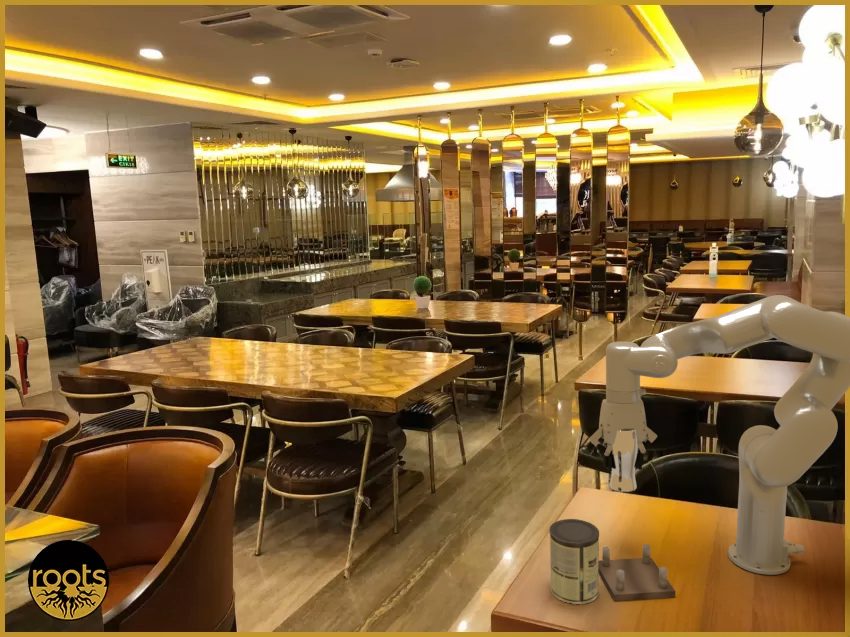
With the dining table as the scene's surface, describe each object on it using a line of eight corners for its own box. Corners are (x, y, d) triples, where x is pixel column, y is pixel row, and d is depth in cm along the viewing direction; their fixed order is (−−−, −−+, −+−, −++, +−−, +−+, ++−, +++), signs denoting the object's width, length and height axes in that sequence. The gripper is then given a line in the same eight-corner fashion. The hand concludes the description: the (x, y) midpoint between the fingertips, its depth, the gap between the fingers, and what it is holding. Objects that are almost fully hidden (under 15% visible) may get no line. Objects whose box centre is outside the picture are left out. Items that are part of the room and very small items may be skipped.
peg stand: (650, 563, 147) (651, 541, 146) (675, 597, 134) (675, 573, 133) (595, 566, 147) (595, 544, 146) (614, 601, 134) (614, 577, 133)
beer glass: (644, 487, 151) (645, 426, 148) (625, 495, 147) (625, 433, 144) (620, 477, 156) (620, 419, 154) (601, 485, 152) (601, 425, 150)
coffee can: (557, 572, 145) (557, 515, 143) (603, 583, 140) (604, 523, 138) (543, 597, 136) (543, 536, 134) (592, 610, 131) (593, 547, 129)
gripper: (653, 388, 152) (653, 459, 155) (581, 393, 151) (582, 464, 154) (666, 397, 144) (665, 472, 147) (590, 402, 144) (591, 477, 147)
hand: (623, 467), depth 151 cm, fingers closed on beer glass, 6 cm apart
